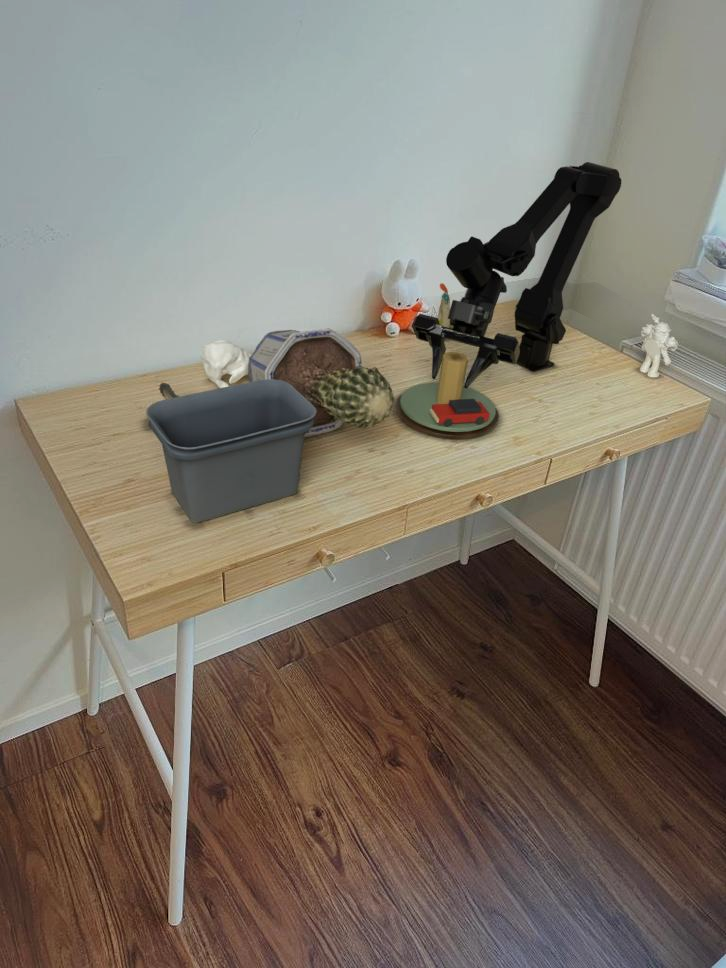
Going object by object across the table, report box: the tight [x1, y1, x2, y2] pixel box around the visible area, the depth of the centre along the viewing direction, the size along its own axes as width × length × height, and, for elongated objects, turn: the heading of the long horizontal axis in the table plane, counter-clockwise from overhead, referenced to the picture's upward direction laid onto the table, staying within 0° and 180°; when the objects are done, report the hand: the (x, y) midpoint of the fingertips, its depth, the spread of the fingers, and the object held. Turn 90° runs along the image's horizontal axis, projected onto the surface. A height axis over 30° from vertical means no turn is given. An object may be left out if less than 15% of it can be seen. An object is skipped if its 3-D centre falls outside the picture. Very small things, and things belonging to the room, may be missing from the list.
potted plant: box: [247, 327, 396, 438], centre depth 123 cm, size 18×18×30 cm
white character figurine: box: [639, 313, 679, 378], centre depth 155 cm, size 9×4×12 cm, turn 24°
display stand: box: [395, 393, 500, 441], centre depth 138 cm, size 18×18×1 cm
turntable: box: [400, 351, 497, 432], centre depth 134 cm, size 17×17×10 cm
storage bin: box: [145, 379, 316, 523], centre depth 109 cm, size 21×16×14 cm
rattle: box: [437, 282, 453, 329], centre depth 163 cm, size 8×8×12 cm
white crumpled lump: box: [200, 339, 253, 389], centre depth 139 cm, size 6×8×12 cm
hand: (449, 383), depth 133 cm, fingers open, 6 cm apart
